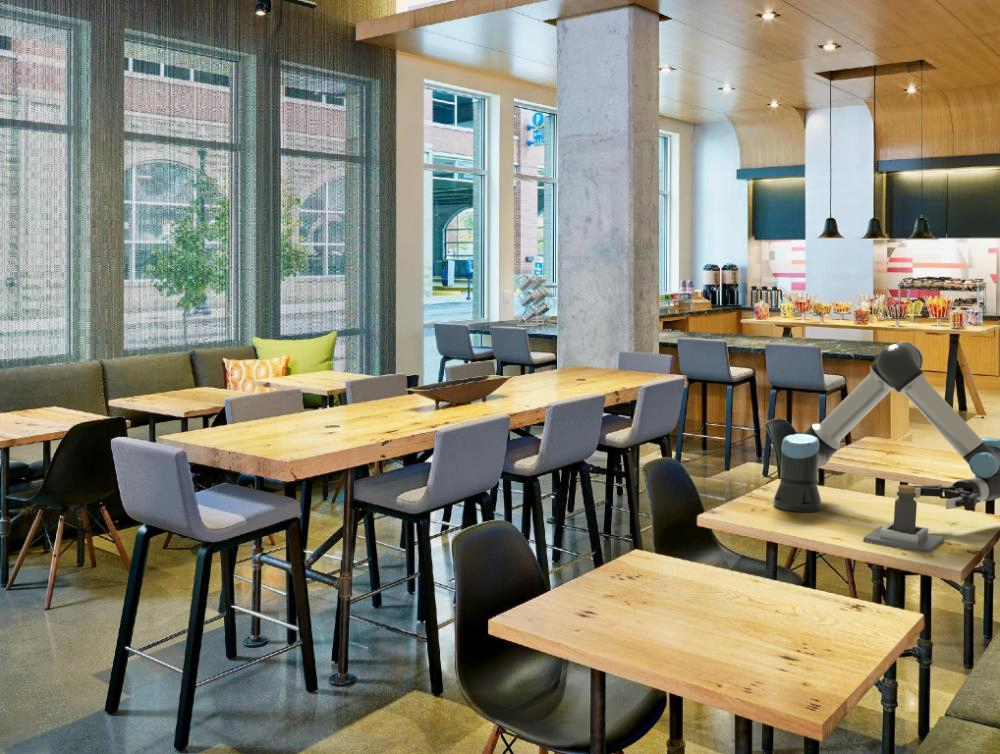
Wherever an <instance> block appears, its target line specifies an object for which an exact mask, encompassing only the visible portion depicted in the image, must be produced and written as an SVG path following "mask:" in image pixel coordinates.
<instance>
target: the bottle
mask: <svg viewBox="0 0 1000 754" xmlns="http://www.w3.org/2000/svg"><path fill="white" fill-rule="evenodd" d="M915 488H916V487H914V485H912V484H911V485H909V484H899V485H897V489H898V491H896V495H897V496H898V498H896V499H895V500H894V512H893V513H894V514H893V522H894V526H893V530H894V531H900V532H906V533H911V534H915V526H916V523H917V508H918V507H917V506H918V504H917V501H916V500H915V498H914V497H916V493H914V492H915Z"/></svg>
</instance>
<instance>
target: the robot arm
mask: <svg viewBox="0 0 1000 754" xmlns="http://www.w3.org/2000/svg"><path fill="white" fill-rule="evenodd" d="M923 358H924V357H923V353H922V352H921V350H920V349H919V348H918V347H917V346H916V345H914V344H913V343H910V342H908V341H898V342H895V343H893V344H890V345H887V346H885V347H884V348H882V349H881V351H880V352H879V353H878V355H877V357H876V359H875V360H874V361H873V362H872V364H871V365H869V368H870V371H869V374H867V375H866V377H864V378H863V380H862V381H861V382H859V383H858V385H857V386H855V388H854V389H853V390H852V391H851V392H850V393H849V394H847V396H846V397H845V398H844V399H843V400H842V401H840V403H839V404H837V406H836V407H835V408H834V409H833V410H832V411H831V412H830V413H829V414H828V415H827V416H826V417H825V418H824V419H823V420H822V421H820V423H813V424H812V425H810V426H809V428H808V429H807V430H805V431H804V432H803V433H794V434H789V435H787V436H784V438H783V439H782V442H781V447H780V449H781V455H780V456H781V458H780V481H779V484H778V487H777V490H776V493H775V495H774V497H773V507H775V508H777V509H779V510H783V511H788V512H795V513H814V512H819V511H821V510H822V504H823V503H822V498H821V495H820V491H819V487H818V477H819V475H818V474H819V472H818V471H819V468H820V467H822V466H824V465H826V464H827V463H828V462H829V461H830V460H831V458H832V456H833V455H835V453H836V452H837V451H839V449H840V448H841V441H842V440H843V439H844V438H845V437H846V436H847V435H848V434H849V433H850V432H851V431H852V430H853V429H854V428H855V427H856V426H857V425H858V424H859V423H860V422H861V421H862V420H863V419H864V418H866V416H867V415H868V414H869V413H870V412H871V411H872V410H873V409H874V408H875V407H876V406H877V405H878V404H879V403H880V402H881V401H882V400H883V399H884V398H886V396H887V395H888V394H889V393H890V392H891V391H895V392H897V393H898V394H901V395H902V394H903V395H904V396H905V397H906V398H907V399H908V401H909V402H911V403H912V404H913V406H915V408H916V409H918V411H919V412H920V414H922V415H923V416H924V417H925V418H926V419H927V421H928V422H929V423H930V424H931V425H932V426H933V427H934V428H935V429H936V430H937V431H938V433H939V434H941V436H942V437H943V438H944V439H945V440H946V441H947V442H948V443H949V444H950V445H951V447H952V448H953V449H954V450H955V451H956V452H957V453H958V454H959V456H961V457H962V459H963V460H964V461H965V462H966V464H967V465H968V466H969V469H970V471H971V472H972V474H974V475H975V476H974V477H971V478H966V479H960V480H957V481H955V482H954V483H953V484H952V485H949V486H943V485H942V484H937V485H935V484H934V485H913V486H914V487H916V488H915V492H914V493H916V497H914V499H919V498H921V497H936V498H940V499H945V509H946V510H951V509H952V510H953V509H957V508H961V507H964V508H967V507H968V506H969V508H971V509H975V507H976V505H977V504H978V503H981V502H988V501H995V500H997V499H1000V438H998V437H991V436H986V437H979V436H978V434H977V433H976V431H974V430H973V429H972V428H971V427H970V426H969V424H967V422H966V421H965V420H964V419H963V418H962V416H960V415H959V414H958V413H957V411H956V410H955V409H953V408H952V406H951V405H950V404H949V402H947V400H945V399H944V397H943V396H941V394H940V393H939V392H938V391H937V390H936V389H935V388H934V387H933V386H932V385H931V384H930V383H929V381H928V380H927V379H926V378H925V372H924V371H923V370H922V366H923V363H924V362H923V361H924V360H923Z"/></svg>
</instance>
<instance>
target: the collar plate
mask: <svg viewBox="0 0 1000 754" xmlns="http://www.w3.org/2000/svg"><path fill="white" fill-rule="evenodd" d="M893 526H894V521H891V522H889V523H888V524H886V525H884V526H881V525H880V526H878V527H877V528H876V529H873V531H871V532H869V533H868V534H866V535H865V536H863V540H862V542H864V541H868V542H867V543H870V542H872V543H871V544H875V543H877V545H881V544H883V545H882V546H886V545H887V547H893V548H897V547H898V548H899V549H904V550H907V551H908V550H909V551H913V552H920V553H924V554H930V553H931V552H932V551H933V550H935V549H936V548H937V547H938V546H940V543H941V544H942V543H943V542H944V541H945V536H939V535H935V534H929V528H928V527H923V526H918V525H917V526H916V525H915V534H911V533H906V532H900V531H894V530H893Z"/></svg>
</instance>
